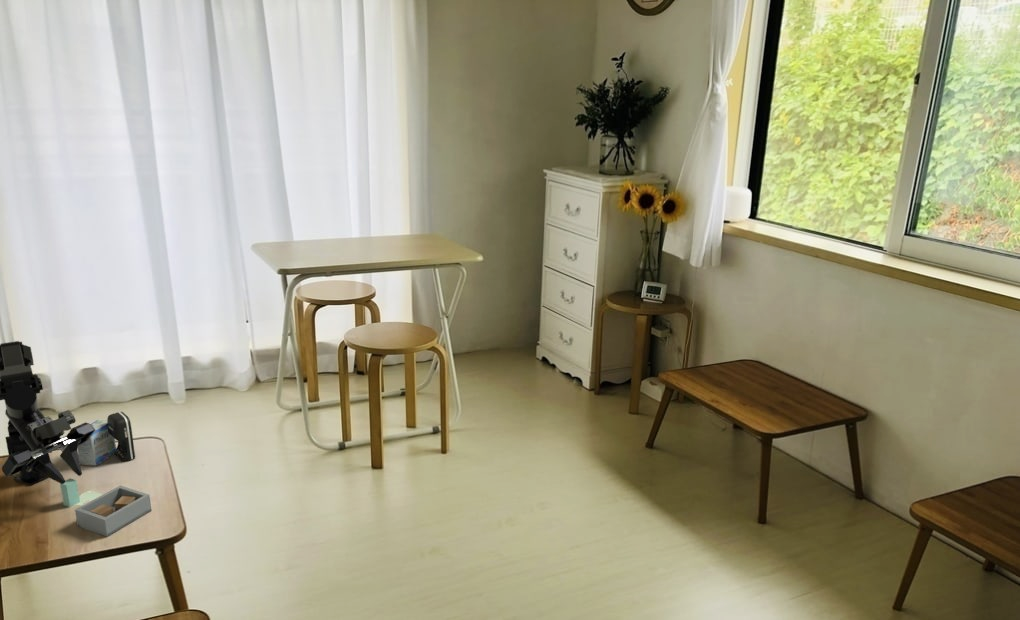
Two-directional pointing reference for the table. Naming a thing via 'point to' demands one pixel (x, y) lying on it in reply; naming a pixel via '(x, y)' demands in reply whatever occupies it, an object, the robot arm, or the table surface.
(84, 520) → the tub
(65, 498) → the lid
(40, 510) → the table surface
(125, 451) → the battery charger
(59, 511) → the table surface
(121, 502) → the block
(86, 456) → the medicine box
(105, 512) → the block
